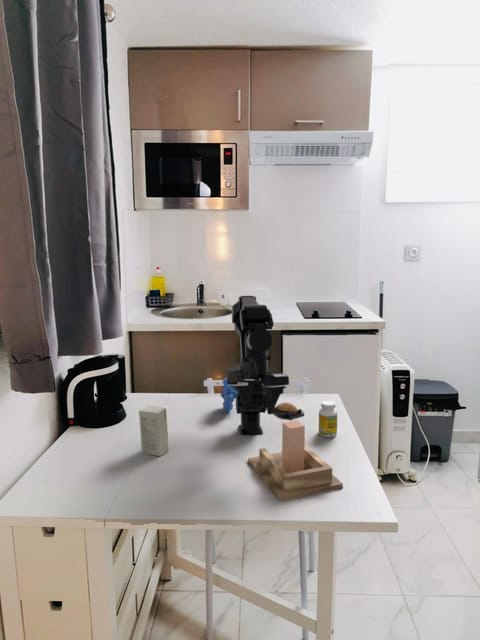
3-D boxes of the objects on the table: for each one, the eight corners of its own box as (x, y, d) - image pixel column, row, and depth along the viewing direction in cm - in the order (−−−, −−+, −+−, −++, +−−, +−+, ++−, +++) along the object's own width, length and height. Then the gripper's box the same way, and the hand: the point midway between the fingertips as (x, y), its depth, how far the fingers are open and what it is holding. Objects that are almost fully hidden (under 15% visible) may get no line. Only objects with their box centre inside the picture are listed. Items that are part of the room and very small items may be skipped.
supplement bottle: (328, 428, 149) (328, 398, 148) (340, 434, 145) (341, 403, 143) (314, 432, 147) (315, 401, 145) (327, 439, 142) (328, 407, 140)
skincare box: (169, 450, 136) (167, 408, 133) (160, 457, 132) (158, 413, 130) (149, 446, 138) (147, 404, 136) (140, 452, 134) (138, 409, 132)
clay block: (282, 468, 123) (282, 422, 121) (296, 465, 124) (297, 420, 122) (289, 475, 119) (289, 428, 117) (304, 472, 121) (304, 426, 119)
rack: (247, 461, 129) (247, 445, 128) (303, 451, 134) (303, 436, 133) (280, 500, 110) (280, 482, 109) (342, 487, 116) (343, 469, 115)
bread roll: (266, 413, 164) (265, 403, 163) (284, 407, 169) (283, 397, 168) (289, 423, 156) (289, 411, 155) (307, 416, 161) (307, 405, 160)
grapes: (242, 418, 158) (242, 382, 156) (221, 419, 158) (220, 382, 155) (239, 405, 170) (239, 371, 167) (219, 406, 169) (219, 372, 167)
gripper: (210, 354, 132) (212, 413, 131) (255, 352, 118) (257, 418, 116) (243, 353, 139) (244, 409, 138) (289, 351, 125) (291, 414, 123)
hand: (258, 413), depth 129 cm, fingers open, 9 cm apart
